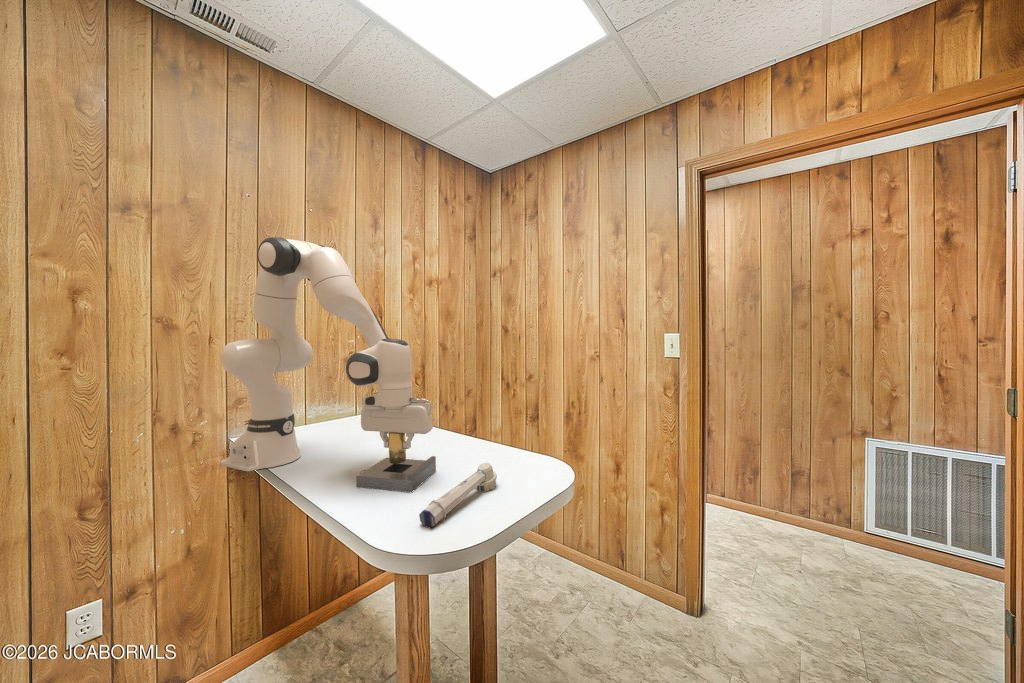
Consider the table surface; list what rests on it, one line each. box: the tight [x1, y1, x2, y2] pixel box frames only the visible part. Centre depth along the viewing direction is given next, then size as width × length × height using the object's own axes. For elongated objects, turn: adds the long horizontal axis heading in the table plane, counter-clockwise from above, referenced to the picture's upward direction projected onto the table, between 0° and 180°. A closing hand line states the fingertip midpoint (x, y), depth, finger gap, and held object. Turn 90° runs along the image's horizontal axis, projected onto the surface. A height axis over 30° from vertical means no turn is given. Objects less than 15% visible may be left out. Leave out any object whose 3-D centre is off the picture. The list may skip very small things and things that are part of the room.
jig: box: [355, 455, 437, 493], centre depth 101 cm, size 16×14×4 cm
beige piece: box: [418, 462, 498, 529], centre depth 87 cm, size 5×7×25 cm
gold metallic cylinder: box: [387, 432, 407, 464], centre depth 101 cm, size 4×4×8 cm
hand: (397, 447), depth 101 cm, fingers closed on gold metallic cylinder, 4 cm apart
